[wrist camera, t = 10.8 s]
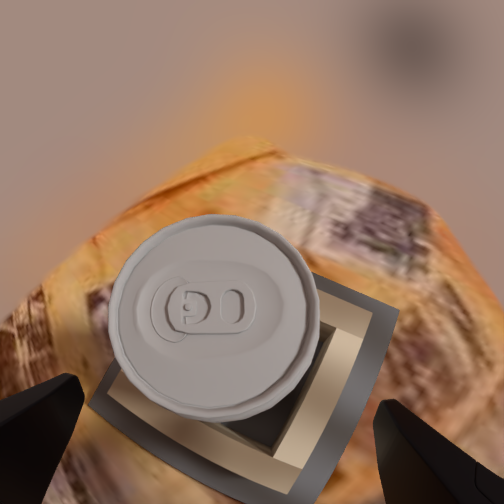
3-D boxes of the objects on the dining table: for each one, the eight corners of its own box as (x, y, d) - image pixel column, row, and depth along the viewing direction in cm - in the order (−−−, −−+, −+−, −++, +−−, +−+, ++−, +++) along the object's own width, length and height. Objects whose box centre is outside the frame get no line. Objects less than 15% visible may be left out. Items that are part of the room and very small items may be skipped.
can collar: (298, 517, 12) (308, 546, 8) (95, 405, 16) (56, 400, 12) (393, 314, 19) (423, 289, 15) (203, 232, 22) (191, 193, 18)
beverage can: (202, 333, 18) (119, 216, 7) (283, 330, 18) (311, 204, 7) (203, 411, 15) (94, 413, 5) (288, 409, 15) (338, 418, 5)
